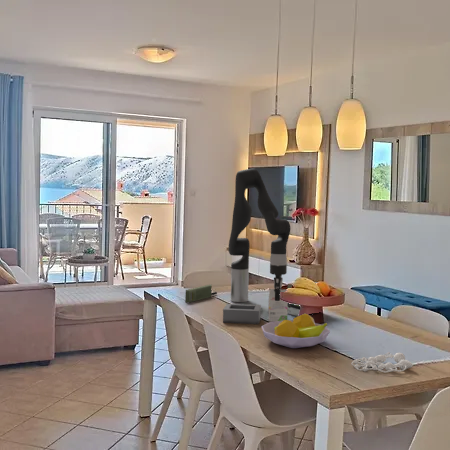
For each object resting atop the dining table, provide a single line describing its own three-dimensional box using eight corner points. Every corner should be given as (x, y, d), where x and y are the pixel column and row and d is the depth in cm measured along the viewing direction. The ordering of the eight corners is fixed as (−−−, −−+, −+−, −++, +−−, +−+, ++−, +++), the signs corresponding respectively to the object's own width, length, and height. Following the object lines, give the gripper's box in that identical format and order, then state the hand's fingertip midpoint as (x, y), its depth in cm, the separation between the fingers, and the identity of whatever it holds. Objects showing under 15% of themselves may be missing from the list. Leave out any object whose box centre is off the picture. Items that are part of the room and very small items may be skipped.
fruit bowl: (250, 337, 228) (250, 310, 227) (308, 331, 238) (309, 305, 237) (282, 358, 202) (282, 327, 201) (346, 350, 212) (347, 321, 211)
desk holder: (226, 316, 263) (226, 303, 263) (260, 317, 261) (260, 305, 260) (222, 322, 251) (223, 309, 251) (258, 324, 249) (258, 311, 249)
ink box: (287, 319, 259) (287, 287, 258) (287, 321, 254) (287, 289, 253) (268, 318, 260) (268, 287, 259) (268, 321, 255) (268, 289, 254)
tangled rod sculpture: (358, 379, 186) (358, 367, 185) (347, 361, 200) (347, 350, 199) (416, 377, 186) (417, 365, 185) (401, 360, 200) (402, 349, 200)
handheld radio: (184, 302, 293) (213, 294, 313) (188, 303, 291) (218, 295, 311) (184, 289, 292) (214, 282, 312) (189, 290, 290) (219, 283, 310)
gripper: (271, 261, 262) (270, 295, 263) (269, 265, 248) (268, 301, 249) (287, 261, 261) (286, 296, 262) (286, 265, 247) (285, 302, 248)
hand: (277, 298), depth 256 cm, fingers open, 8 cm apart
